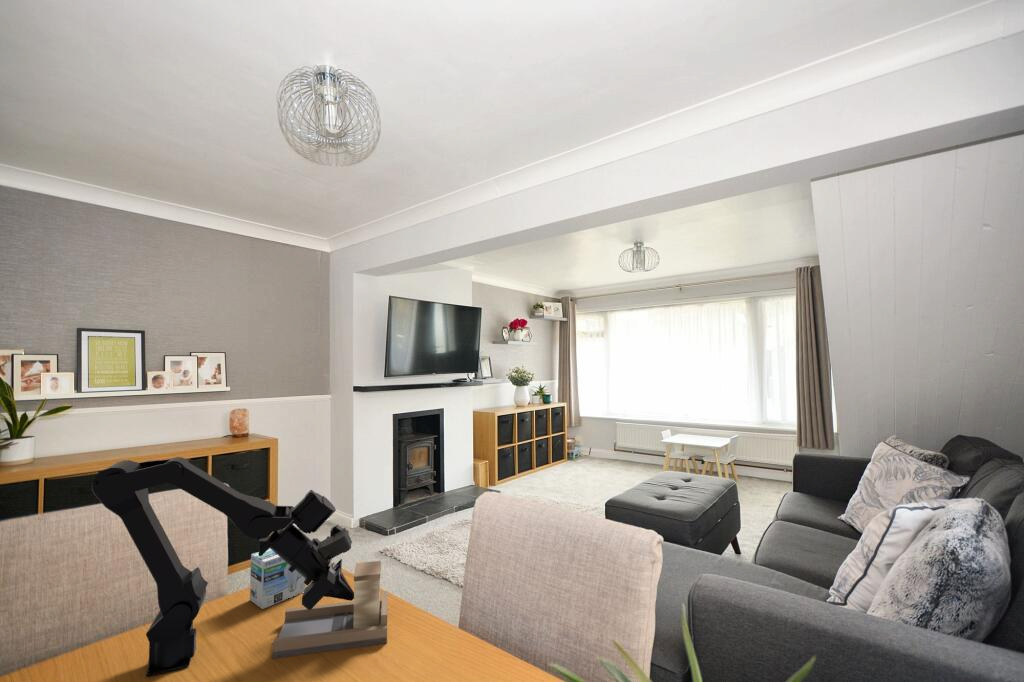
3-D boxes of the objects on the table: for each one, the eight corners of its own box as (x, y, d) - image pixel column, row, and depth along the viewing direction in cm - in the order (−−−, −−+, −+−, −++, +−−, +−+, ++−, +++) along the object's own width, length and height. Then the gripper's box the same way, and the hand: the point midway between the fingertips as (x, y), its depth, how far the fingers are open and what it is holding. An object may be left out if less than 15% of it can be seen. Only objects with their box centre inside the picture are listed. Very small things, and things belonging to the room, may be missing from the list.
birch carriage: (352, 631, 96) (353, 576, 96) (355, 614, 102) (356, 563, 102) (379, 627, 97) (380, 573, 98) (380, 611, 103) (381, 560, 104)
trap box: (272, 658, 90) (273, 632, 90) (286, 623, 101) (286, 599, 101) (386, 643, 95) (387, 617, 95) (387, 610, 106) (387, 588, 107)
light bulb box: (262, 610, 106) (263, 562, 106) (248, 600, 110) (249, 553, 110) (307, 591, 115) (308, 546, 115) (292, 582, 119) (293, 539, 119)
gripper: (321, 537, 89) (381, 589, 92) (333, 505, 107) (383, 549, 110) (275, 584, 87) (337, 636, 90) (295, 543, 105) (346, 587, 108)
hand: (353, 598), depth 99 cm, fingers closed, pressing on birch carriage
